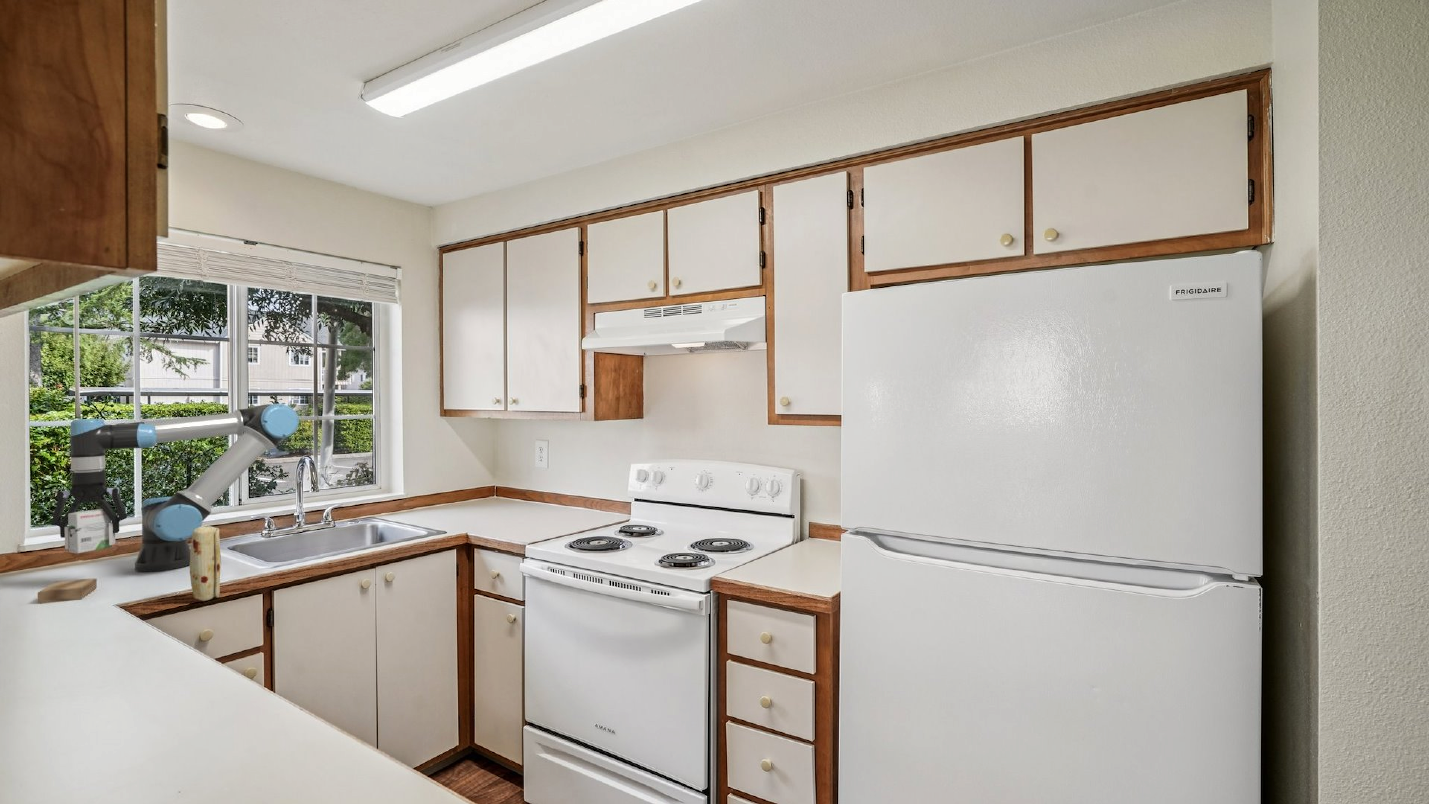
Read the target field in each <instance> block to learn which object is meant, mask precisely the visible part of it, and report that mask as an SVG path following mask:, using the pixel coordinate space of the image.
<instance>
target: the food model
mask: <svg viewBox="0 0 1429 804" xmlns="http://www.w3.org/2000/svg"><path fill="white" fill-rule="evenodd" d="M190 543H191V545H190V550H191V551H190V565H189V576H190V585H191V590H192V598H193V600H194V602H195V603H196V602H197V603H200V602H205V601H209V600H212V599H214V597H215V598H219V597H220V589H221V588H220V586H221V584H220V583H221V564H222V561H221V560H222V558H221V557H222V554H221V540H220V528H219V527H215V526H211V525H207V526H201V527H199V528H196V529H195V530H194V531H193V534H192V537H191V542H190Z"/></svg>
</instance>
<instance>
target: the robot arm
mask: <svg viewBox="0 0 1429 804" xmlns="http://www.w3.org/2000/svg"><path fill="white" fill-rule="evenodd" d="M298 415H299V414H298V413H297V412H296V410H294V409H293V408H292V407H290V406H288V405H286V404H283V403H273V404H269V403H268V404H261V405H257V406H253V407H249V408H248V407H247V408H242V409H241V408H240V409H235V410H234V411H233V412H230V413H229V412H228V413H218V414H217V413H216V414H209V415H208V414H207V415H198V416H189V417H187V416H186V417H179V418H178V417H177V418H168V419H158V420H157V419H156V420H147V421H138V422H137V421H136V422H128V423H127V422H126V423H125V422H123V423H116V424H106V423H105V419H103V418H86V419H85V418H84V419H83V418H81V419H80V418H79V419H74V420H72V421H71V422H70V430H69V431H70V432H69V433H70V434H69V443H70V446H69V447H70V470H71V471H72V473H71V474H70V475H71V477H70V478H71V479H70V480H71V487H70V490H60V491H58V492H57V493H56V496H57V502H56V505H55V509H54V512H53V515H52V520H51V523H50V524H51V525H52V526H55V527H56V526H57V527H59V532H60V533H59V534H60V535H59V536H60V538H61V539H62V538H63V539H64V549H65V550H69V531H68V514H69V513H75V512H77V510H78V509H79V507H80V506H81V504H82V503H83V504H84V503H85V504H86V503H88V502H89V503H97V505H99V507H100V509H103V510H104V512H105V513H106V514H107V516H108V517H109V518H110V520H111V523H109V545H112V546H114V545H115V544H116V534H118V533H119V532H120V522H121V521H123V520H127V518H128V515H127V513H126V509H125V507H124V503H123V501H122V498H121V496H120V492H121V488H120V486H119V487H108V485H107V481H106V480H107V478H106V477H107V473H106V472H107V471H105V469H106V451H108V450H109V451H111V450H127V449H128V450H129V449H142V450H143V449H145V448H153V447H155V445H156V444H160V443H170V442H171V443H172V442H177V441H179V442H180V441H187V440H197V439H198V440H199V439H205V438H212V437H213V438H214V437H221V436H232V435H237V436H238V437H239V438H238V439H236V441H235V442H234V443H233V444H231V446H230V447H229V448H228V449H226V450H225V452H224V453H222V455H220V456H219V457H218V458H217V459H216V460H215V461H214V462H213V463H212V464H211V465H210V466H209V467H208V468H207V469H206V470H205V471H204V472H203V473H202V474H201V475H200V476H199V477H198V478H197V479H196V480H194V482H193V483H192V484H191V485H190V486H188V488H187V489H183V490H177V491H176V492H175V493H174V494H173V495H172V496H164V497H153V498H152V497H151V498H146V499H144V500H143V501H142V505H141V507H140V508H141V547H140V549H139V552H138V555H137V557H136V560H135V562H134V570H135V571H136V570H137V571H136V572H144V571H147V572H160V571H161V570H162V571H168V570H167V569H170V570H173V569H172V568H176V569H181V568H185V567H187V566H186V565H189V566H190V551H191V546H190V545H189V542H188V540H189V539H190V538H192V534H193V531H194V530H195V529H196V528H199V527H202V525H203V522H204V520H206V519H207V517H209V515H210V514H211V513H212V506H213V504H214V503H215V502H216V501H217V500H218V499H219V498H220V497H221V496H222V495H223V494H224V493H225V492H226V491H227V490H228V489H229V488H230V487H231V486H232V485H233V484H234V483H235V482H236V481H237V480H238V479H239V478H240V477H241V476H242V475H243V474H244V473H245V472H246V471H247V470H248V468H250V467H251V466H252V465H253V464H254V462H255V461H257V459H259V457H261V455H263V453H264V452H266V450H268V449H275V448H276V447H277V446H278V445H279V444H280V443H281V442H282V441H283V440H284V439H285V438H288V437H290V436H292V435H293V434H295V432H296V431H297V430H298V428H299V425H300V424H299V423H300V421H299V420H300V419H299V416H298ZM107 492H108V493H109V495H110V496H111V498H112V501H113V504H114V508H115V510H116V512H115V511H114V510H113V508H112V507H111V505H110V504H109V503H108V501H107V499H106V497H105V495H106V494H107ZM70 495H71V496H72V497H73V498H74V500H73V502H72V504H71V506H70V508H69V509H68V510H67V512H66V513H65V515H64V516H63V513H64V508H65V505H66V503H67V498H69V496H70ZM62 516H63V518H62ZM184 566H185V567H184ZM180 567H181V568H180Z"/></svg>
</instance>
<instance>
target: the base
mask: <svg viewBox="0 0 1429 804" xmlns="http://www.w3.org/2000/svg"><path fill="white" fill-rule="evenodd" d="M97 579H98V578H95V577H94V578H84V579H83V578H82V579H73V580H72V579H71V580H63V581H62V580H61V581H55V582H54V583H52V584H50V585H48V586H46V587H45V588H43V589H42V590H39V591H38V592H37V604H38V605H39V604H48V603H49V604H50V603H57V602H58V603H60V602H69V601H76V600H82V598H83V599H84V598H86V597H87V596H89V595H90V594H92V593H93V592H95V591H96V590H97V589H96V588H98V587H97V585H98V582H97V581H98V580H97ZM95 589H96V590H95ZM94 590H95V591H94ZM92 591H93V592H92ZM91 592H92V593H91ZM88 594H89V595H88ZM85 596H86V597H85Z"/></svg>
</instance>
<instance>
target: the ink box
mask: <svg viewBox="0 0 1429 804" xmlns="http://www.w3.org/2000/svg"><path fill="white" fill-rule="evenodd" d="M111 522H112V521H111V520H110V518H109V517H108V516H107V514H106V513H105V512H104V510H103V509H102V508H98V509H90V510H82V511H76V512H75V513H69V514H68V525H67V526H68V531H69V549H68V552H69V553H71V554H81V553H83V554H84V553H87V552H92V551H97V550H103V549H104V550H105V549H108V548H112V547H113V545H109V523H111Z"/></svg>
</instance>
